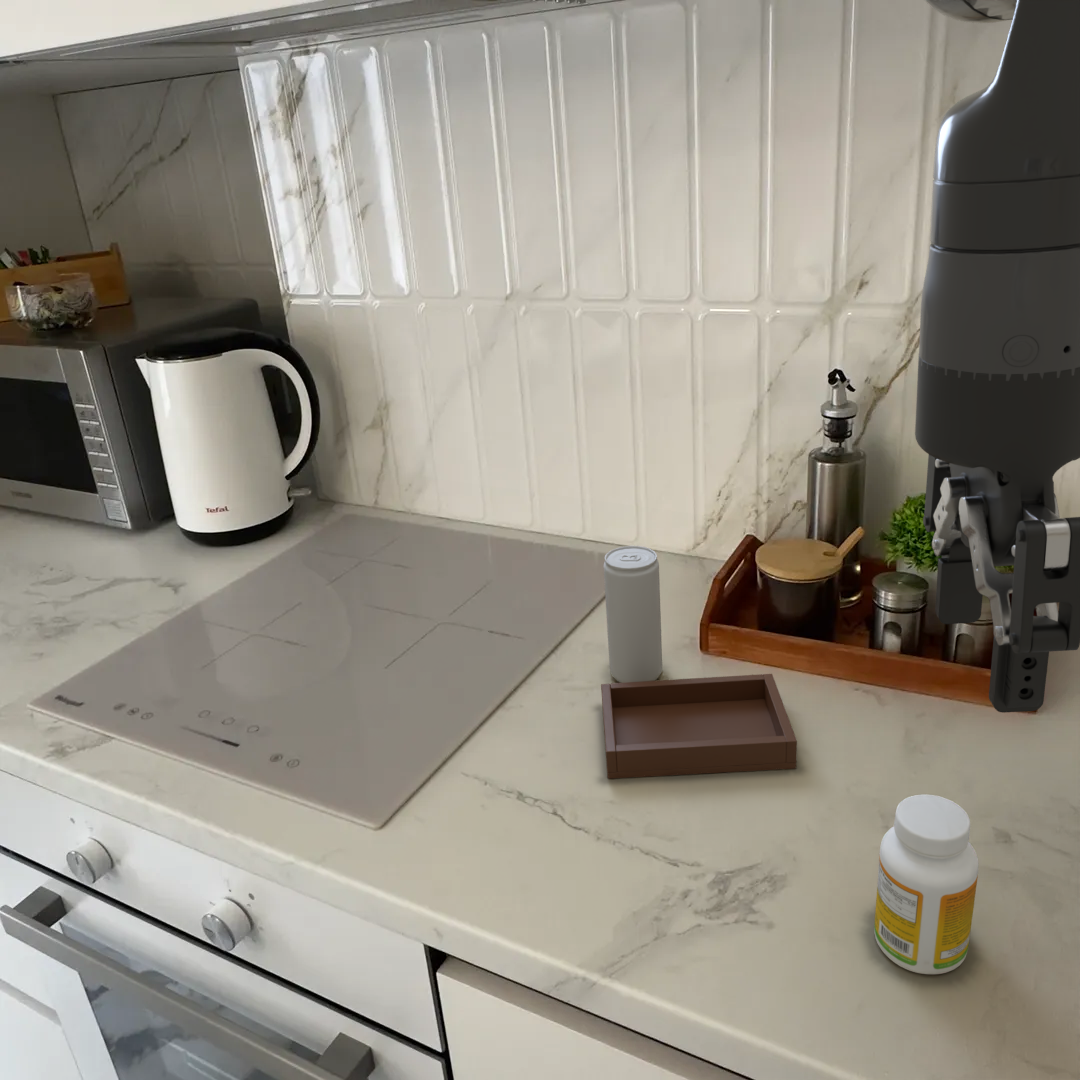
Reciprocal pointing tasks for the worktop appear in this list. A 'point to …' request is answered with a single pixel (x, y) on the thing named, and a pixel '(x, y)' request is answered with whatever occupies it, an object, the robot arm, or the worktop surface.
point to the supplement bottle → (926, 886)
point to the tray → (696, 726)
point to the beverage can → (633, 613)
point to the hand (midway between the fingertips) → (983, 660)
